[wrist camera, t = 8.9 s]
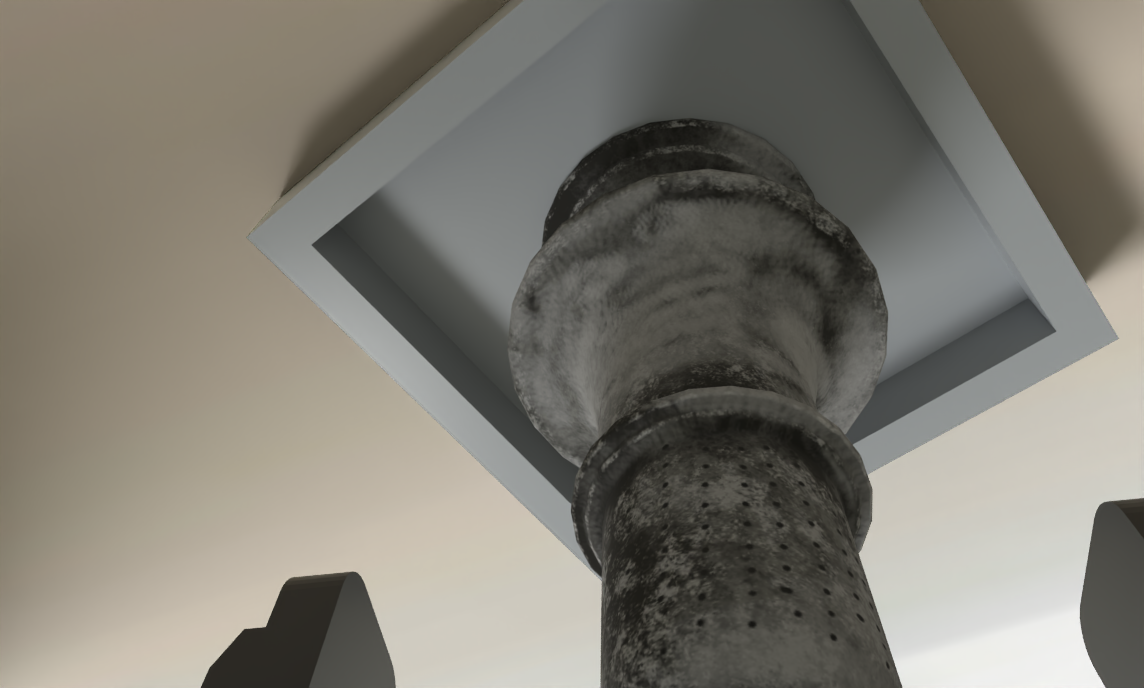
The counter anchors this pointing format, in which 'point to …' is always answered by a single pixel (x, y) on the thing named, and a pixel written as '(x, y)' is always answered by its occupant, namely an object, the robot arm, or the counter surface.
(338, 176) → the tray
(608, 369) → the dark grey turned piece
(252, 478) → the counter surface
